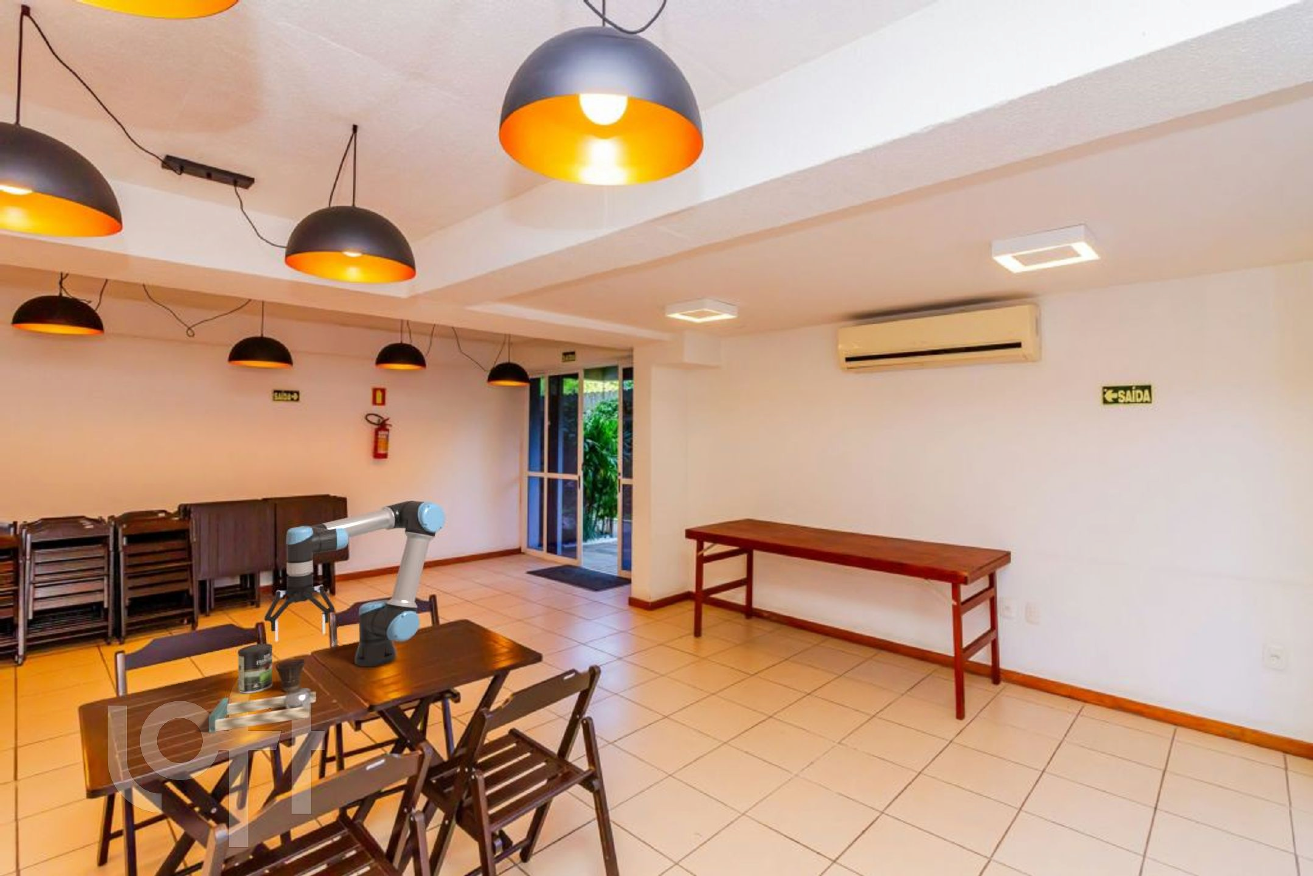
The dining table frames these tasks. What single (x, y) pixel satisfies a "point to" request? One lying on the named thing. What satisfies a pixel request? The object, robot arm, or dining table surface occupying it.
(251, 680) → the coffee can
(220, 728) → the channel
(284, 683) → the cup
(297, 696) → the keeper
